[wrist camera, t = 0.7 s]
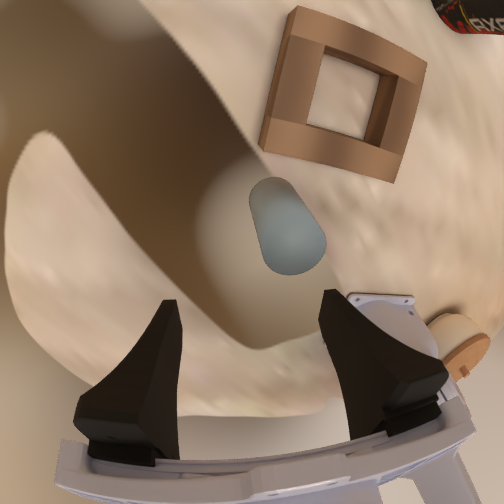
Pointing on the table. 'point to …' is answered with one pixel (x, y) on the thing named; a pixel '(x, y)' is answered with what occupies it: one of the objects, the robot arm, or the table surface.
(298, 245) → the peg
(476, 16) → the deodorant
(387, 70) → the socket block
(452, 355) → the lidded jar
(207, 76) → the table surface
